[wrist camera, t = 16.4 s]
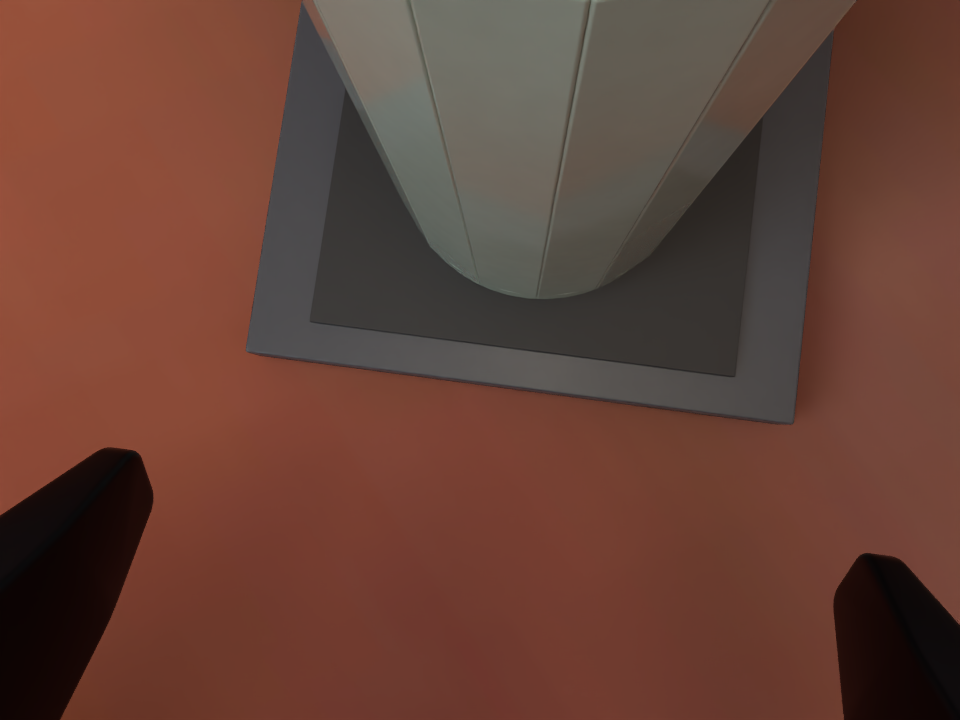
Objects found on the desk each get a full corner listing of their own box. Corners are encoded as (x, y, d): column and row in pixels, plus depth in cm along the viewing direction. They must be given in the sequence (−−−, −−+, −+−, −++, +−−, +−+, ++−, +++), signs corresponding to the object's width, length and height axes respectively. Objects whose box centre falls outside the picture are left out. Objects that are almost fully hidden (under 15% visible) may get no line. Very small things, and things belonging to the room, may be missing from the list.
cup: (493, 353, 17) (440, 178, 5) (349, 113, 18) (-19, -578, 6) (743, 204, 17) (1317, -345, 5) (590, -31, 18) (760, -1036, 6)
